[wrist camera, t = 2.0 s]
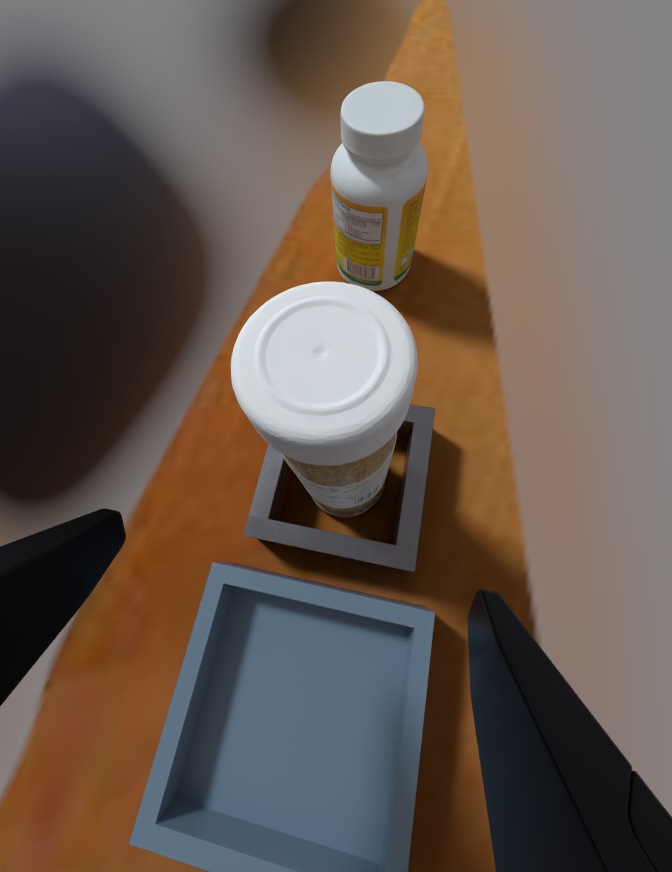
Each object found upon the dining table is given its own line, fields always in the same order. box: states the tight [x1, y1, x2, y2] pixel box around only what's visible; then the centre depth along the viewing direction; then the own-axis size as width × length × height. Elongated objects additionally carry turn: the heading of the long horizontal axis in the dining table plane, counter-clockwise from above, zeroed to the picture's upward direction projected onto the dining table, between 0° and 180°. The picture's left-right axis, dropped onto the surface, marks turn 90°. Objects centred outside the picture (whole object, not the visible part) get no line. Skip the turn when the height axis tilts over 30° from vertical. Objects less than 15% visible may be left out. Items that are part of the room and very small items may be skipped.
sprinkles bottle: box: [231, 282, 418, 517], centre depth 15 cm, size 5×5×13 cm
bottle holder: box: [243, 404, 435, 572], centre depth 20 cm, size 8×8×2 cm
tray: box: [129, 562, 435, 872], centre depth 16 cm, size 11×11×2 cm
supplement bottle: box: [331, 81, 428, 291], centre depth 22 cm, size 5×5×10 cm
